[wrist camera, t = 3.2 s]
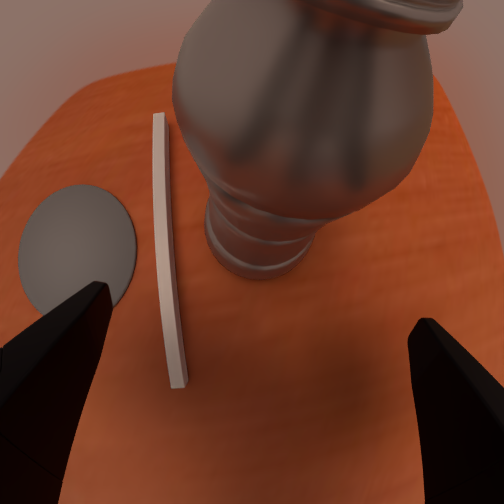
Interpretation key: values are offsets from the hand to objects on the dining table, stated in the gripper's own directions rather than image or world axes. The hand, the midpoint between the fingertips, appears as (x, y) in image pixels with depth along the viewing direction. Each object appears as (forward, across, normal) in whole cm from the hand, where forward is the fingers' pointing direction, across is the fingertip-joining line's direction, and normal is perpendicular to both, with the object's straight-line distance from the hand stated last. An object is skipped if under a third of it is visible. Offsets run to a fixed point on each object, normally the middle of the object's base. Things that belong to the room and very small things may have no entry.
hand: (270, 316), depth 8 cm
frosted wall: (+11, +6, +6) cm, 14 cm away
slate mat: (+10, +13, +7) cm, 18 cm away
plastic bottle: (+12, 0, +5) cm, 13 cm away
